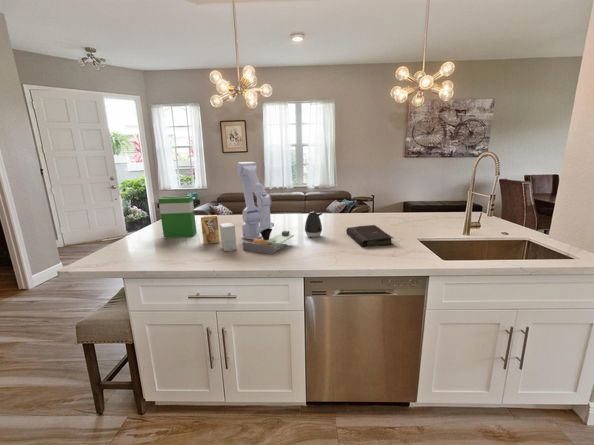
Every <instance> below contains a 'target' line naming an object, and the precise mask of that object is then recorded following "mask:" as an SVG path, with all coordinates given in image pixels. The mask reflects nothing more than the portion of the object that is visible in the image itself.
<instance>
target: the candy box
mask: <svg viewBox="0 0 594 445" xmlns="http://www.w3.org/2000/svg"><path fill="white" fill-rule="evenodd" d="M200 223H201V233H202V242H203V245H209V244H215V243H221V242H220V240H221V239H220V233H219V232H220V228H219V220H218V215H217V214H213V215H203V216H200Z"/></svg>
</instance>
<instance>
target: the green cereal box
mask: <svg viewBox="0 0 594 445" xmlns="http://www.w3.org/2000/svg"><path fill="white" fill-rule="evenodd" d="M157 201H158V206H159V212H160V213H159V214H160V220H161V221H160V222H161V227H162V235H163V238H164V237H172V238H188V237H189V238H193V237H195V236H196V235H197V233H198V232H197V223H196V222H197V221H196V217H195V216H196V215H195V207H194V198H193V195H179V196H178V195H177V196H175V195H174V196H171V195H170V196H162V198H158V200H157Z"/></svg>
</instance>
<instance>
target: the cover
mask: <svg viewBox="0 0 594 445" xmlns="http://www.w3.org/2000/svg"><path fill="white" fill-rule="evenodd" d="M293 237H295V235H294V234H292V233H291V234H290V230H283V231H281V233H279V234H277V235H276V236H273V237H272V238H269V240H268V241H266V243H272V244H279V245H280V244H284V243H285V242H286V241H288V240H290V239H291V238H293Z"/></svg>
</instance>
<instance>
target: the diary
mask: <svg viewBox="0 0 594 445" xmlns="http://www.w3.org/2000/svg"><path fill="white" fill-rule="evenodd" d="M345 231H346V235H348V236H349V237H351V238H350V239H353V241H355V243H357V244H358V245H359V246H360V247H361V248H364V247H366V248H367V247H375V246H376V247H386V246H393V245H394V243H392V239H394V237H393V236H391V235H390V234H389V233H387V232H385V231H384V230H383V229H382V228H380V227H378V226H377V225H375V224H370V225H359V226H352V227H351V226H350V227H347V228H346V230H345Z"/></svg>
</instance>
